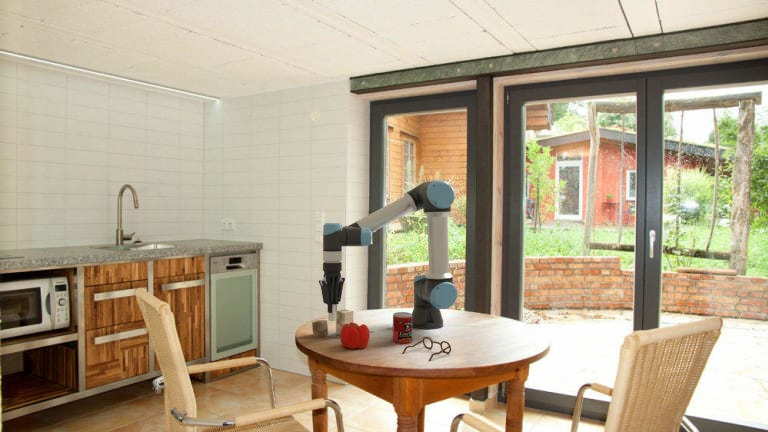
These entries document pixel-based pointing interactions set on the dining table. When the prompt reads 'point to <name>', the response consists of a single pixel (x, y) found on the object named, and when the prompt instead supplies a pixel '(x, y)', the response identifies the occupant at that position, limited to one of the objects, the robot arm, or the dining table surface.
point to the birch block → (343, 319)
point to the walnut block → (320, 328)
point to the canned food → (402, 327)
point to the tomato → (354, 336)
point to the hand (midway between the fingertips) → (332, 320)
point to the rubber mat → (339, 336)
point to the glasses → (432, 346)
